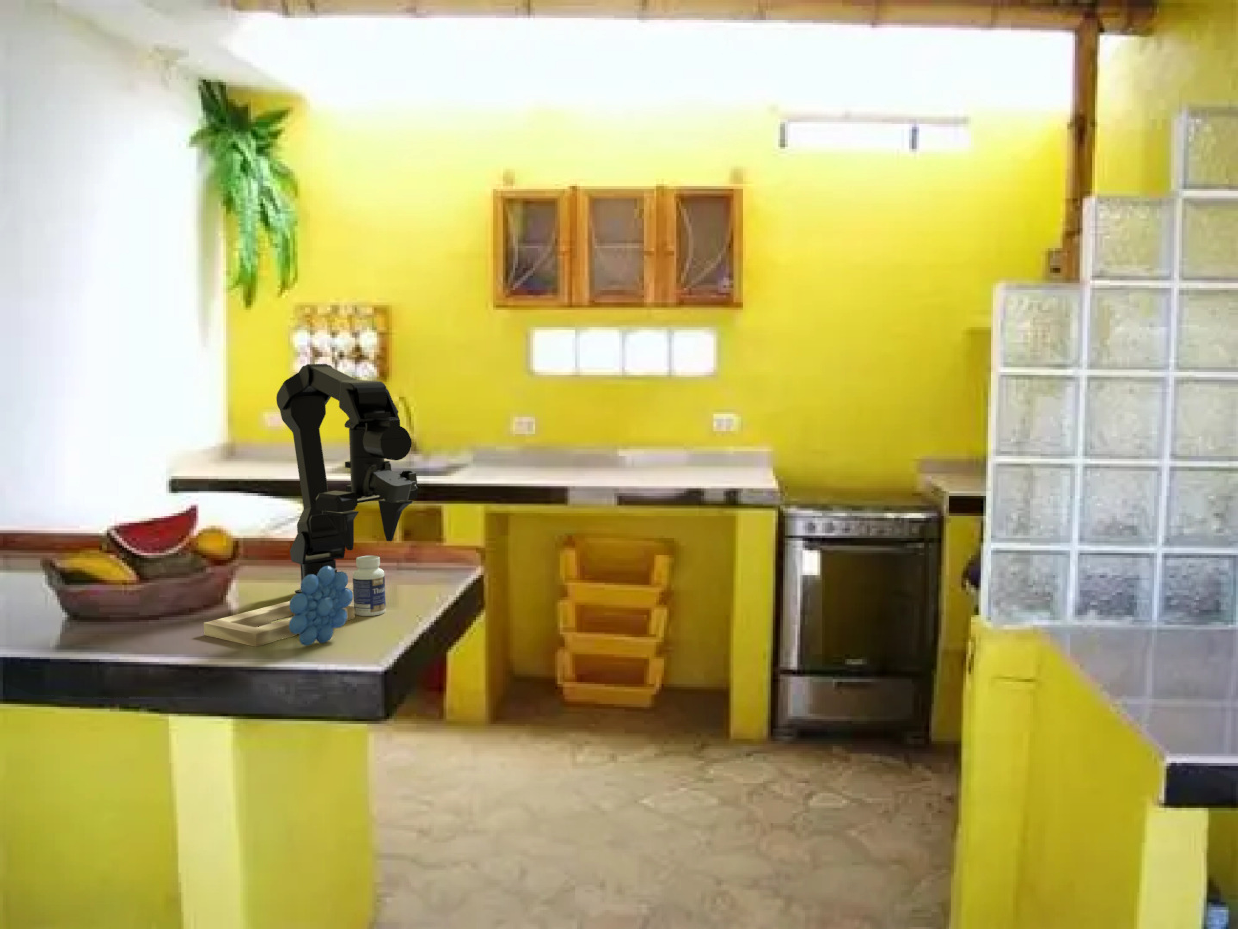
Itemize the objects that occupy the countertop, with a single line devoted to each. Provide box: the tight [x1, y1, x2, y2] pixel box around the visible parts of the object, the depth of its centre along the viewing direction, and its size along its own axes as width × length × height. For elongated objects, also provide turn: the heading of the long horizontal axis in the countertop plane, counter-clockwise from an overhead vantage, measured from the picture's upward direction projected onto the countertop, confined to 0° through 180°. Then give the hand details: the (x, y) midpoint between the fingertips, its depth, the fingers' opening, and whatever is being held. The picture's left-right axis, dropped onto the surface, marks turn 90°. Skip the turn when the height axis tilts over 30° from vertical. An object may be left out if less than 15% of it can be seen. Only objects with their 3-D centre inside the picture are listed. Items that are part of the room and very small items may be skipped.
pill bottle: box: [352, 555, 387, 617], centre depth 183 cm, size 5×5×10 cm
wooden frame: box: [203, 600, 356, 647], centre depth 176 cm, size 20×13×2 cm, turn 146°
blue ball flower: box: [289, 566, 354, 647], centre depth 165 cm, size 12×7×12 cm, turn 142°
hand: (370, 545), depth 183 cm, fingers open, 9 cm apart
